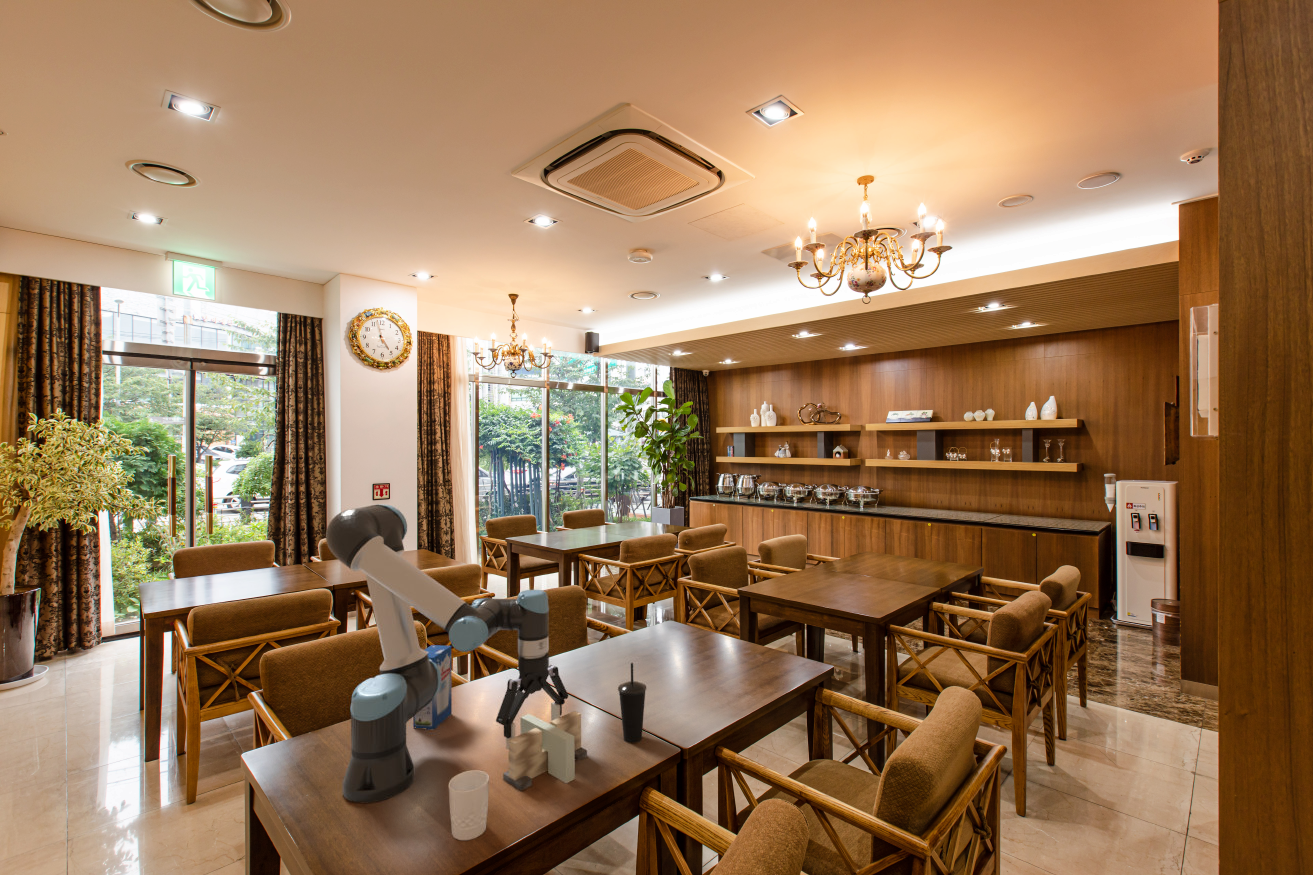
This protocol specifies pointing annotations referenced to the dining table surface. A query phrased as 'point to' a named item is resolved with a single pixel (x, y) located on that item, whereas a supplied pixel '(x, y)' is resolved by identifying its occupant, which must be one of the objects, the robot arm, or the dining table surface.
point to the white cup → (468, 804)
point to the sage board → (554, 747)
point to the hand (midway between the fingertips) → (534, 739)
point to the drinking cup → (632, 708)
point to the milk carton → (443, 699)
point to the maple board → (538, 751)
